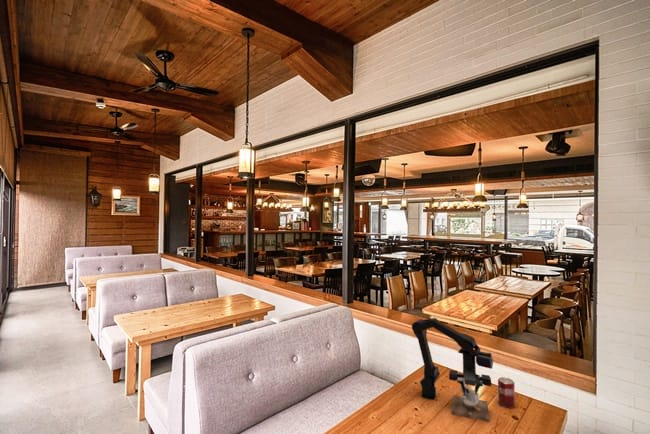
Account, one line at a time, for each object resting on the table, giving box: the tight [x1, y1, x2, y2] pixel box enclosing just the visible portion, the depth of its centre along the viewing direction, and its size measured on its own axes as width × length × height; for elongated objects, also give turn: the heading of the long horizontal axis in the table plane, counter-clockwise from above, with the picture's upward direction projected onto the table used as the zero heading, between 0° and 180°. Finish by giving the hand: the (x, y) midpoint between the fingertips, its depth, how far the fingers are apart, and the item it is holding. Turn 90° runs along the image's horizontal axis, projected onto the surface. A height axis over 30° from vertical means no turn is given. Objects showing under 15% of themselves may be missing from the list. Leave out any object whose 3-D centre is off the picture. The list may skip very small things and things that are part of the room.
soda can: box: [497, 376, 516, 409], centre depth 160 cm, size 7×7×12 cm
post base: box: [451, 394, 490, 423], centre depth 157 cm, size 16×15×2 cm
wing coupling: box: [460, 383, 481, 412], centre depth 156 cm, size 12×7×8 cm, turn 15°
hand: (470, 395), depth 157 cm, fingers closed on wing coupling, 4 cm apart
